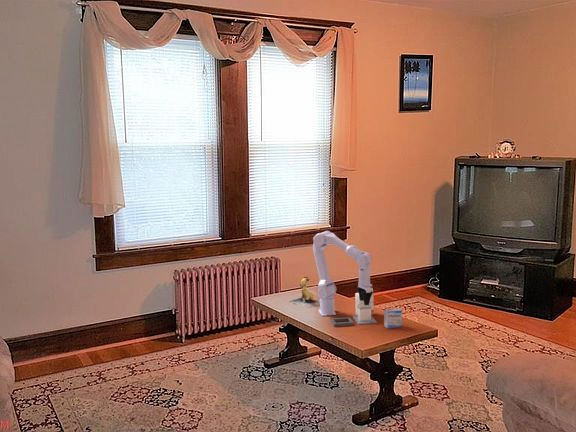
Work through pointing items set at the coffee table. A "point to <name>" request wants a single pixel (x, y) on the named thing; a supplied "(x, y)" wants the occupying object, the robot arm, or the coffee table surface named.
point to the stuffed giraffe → (305, 294)
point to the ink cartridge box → (358, 302)
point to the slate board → (364, 321)
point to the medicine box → (393, 318)
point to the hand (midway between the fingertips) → (364, 302)
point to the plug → (364, 312)
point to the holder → (341, 322)
